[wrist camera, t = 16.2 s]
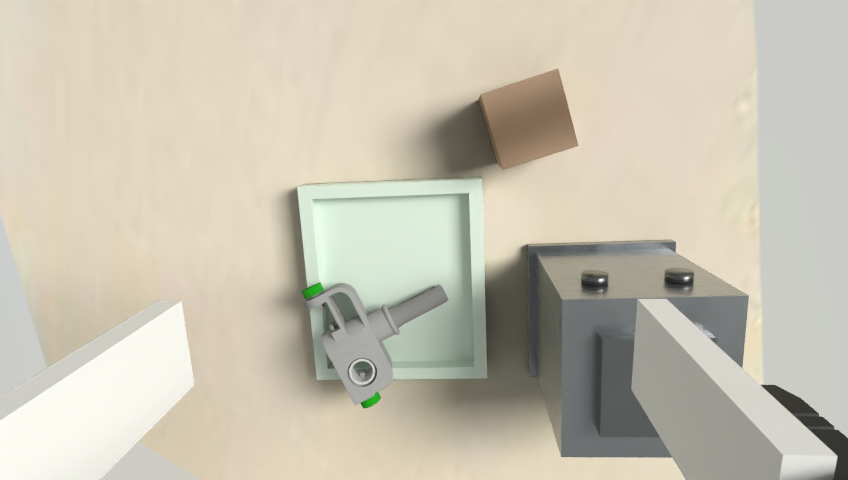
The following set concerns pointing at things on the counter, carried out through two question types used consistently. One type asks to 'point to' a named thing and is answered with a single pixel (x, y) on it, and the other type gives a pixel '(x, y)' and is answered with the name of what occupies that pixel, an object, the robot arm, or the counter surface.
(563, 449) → the unit
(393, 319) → the mechanical component
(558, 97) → the walnut block
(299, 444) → the counter surface
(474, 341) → the tray
